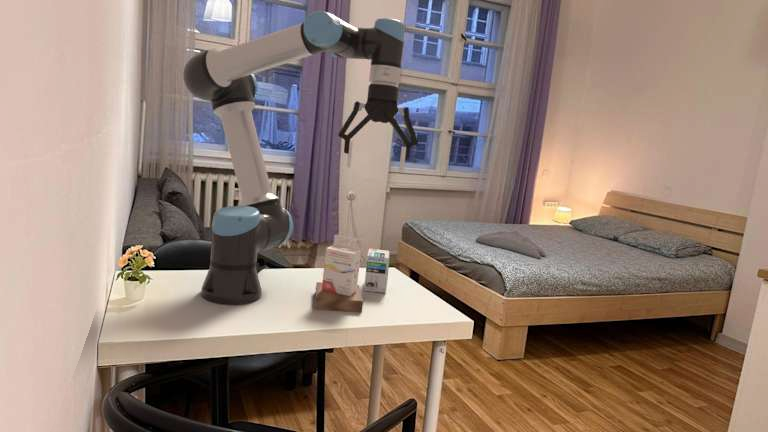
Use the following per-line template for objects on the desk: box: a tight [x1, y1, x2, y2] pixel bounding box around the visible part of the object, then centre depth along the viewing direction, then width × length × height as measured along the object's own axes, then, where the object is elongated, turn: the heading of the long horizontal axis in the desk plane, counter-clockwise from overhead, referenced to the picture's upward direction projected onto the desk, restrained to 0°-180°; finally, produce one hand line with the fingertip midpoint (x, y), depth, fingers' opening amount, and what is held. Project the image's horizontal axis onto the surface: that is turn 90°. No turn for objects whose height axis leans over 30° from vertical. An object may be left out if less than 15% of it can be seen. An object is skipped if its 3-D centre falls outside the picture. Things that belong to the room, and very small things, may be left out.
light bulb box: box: [363, 248, 391, 294], centre depth 158 cm, size 11×7×11 cm, turn 179°
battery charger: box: [256, 256, 266, 275], centre depth 159 cm, size 13×10×4 cm
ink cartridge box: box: [322, 234, 362, 296], centre depth 140 cm, size 9×5×15 cm, turn 71°
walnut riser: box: [314, 281, 364, 313], centre depth 141 cm, size 12×14×3 cm
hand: (375, 169), depth 134 cm, fingers open, 13 cm apart
